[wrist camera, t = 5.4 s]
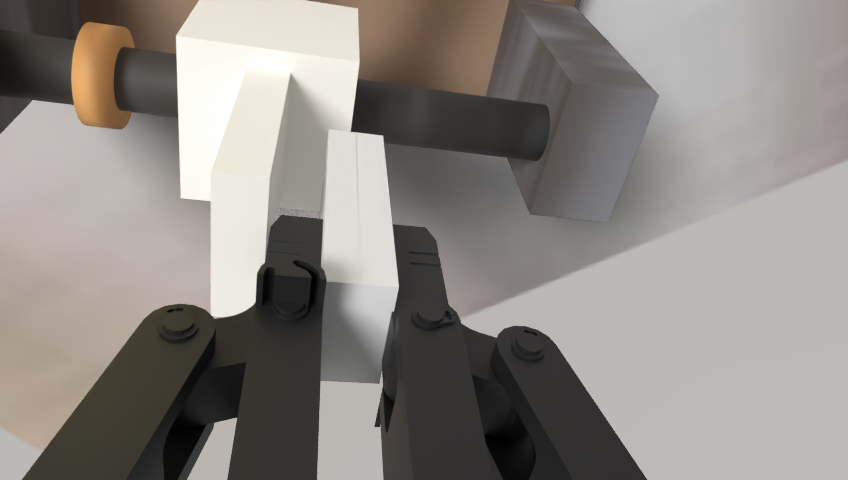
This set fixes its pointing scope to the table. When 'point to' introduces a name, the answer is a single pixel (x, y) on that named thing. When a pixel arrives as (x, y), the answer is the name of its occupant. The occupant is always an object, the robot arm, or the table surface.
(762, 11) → the table surface
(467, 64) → the cord rack
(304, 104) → the sleeve
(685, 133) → the table surface
